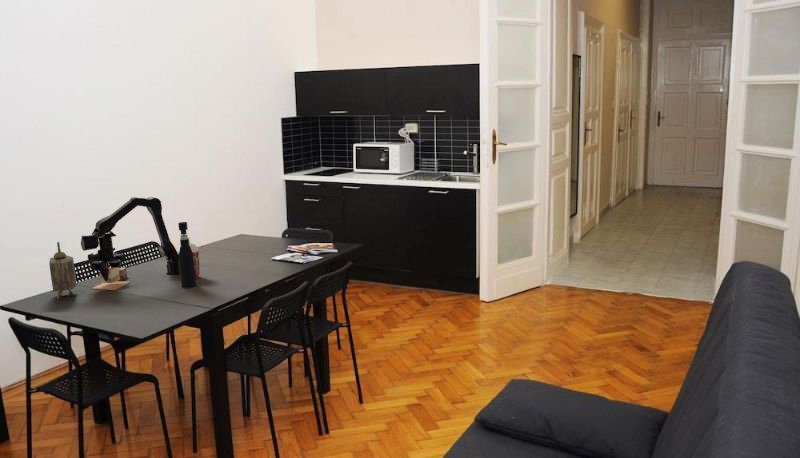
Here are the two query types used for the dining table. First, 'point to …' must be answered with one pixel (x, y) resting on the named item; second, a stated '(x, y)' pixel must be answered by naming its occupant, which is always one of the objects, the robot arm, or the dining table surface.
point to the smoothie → (195, 258)
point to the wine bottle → (186, 259)
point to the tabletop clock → (62, 272)
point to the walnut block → (122, 273)
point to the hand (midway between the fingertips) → (110, 279)
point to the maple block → (111, 275)
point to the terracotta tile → (110, 285)
